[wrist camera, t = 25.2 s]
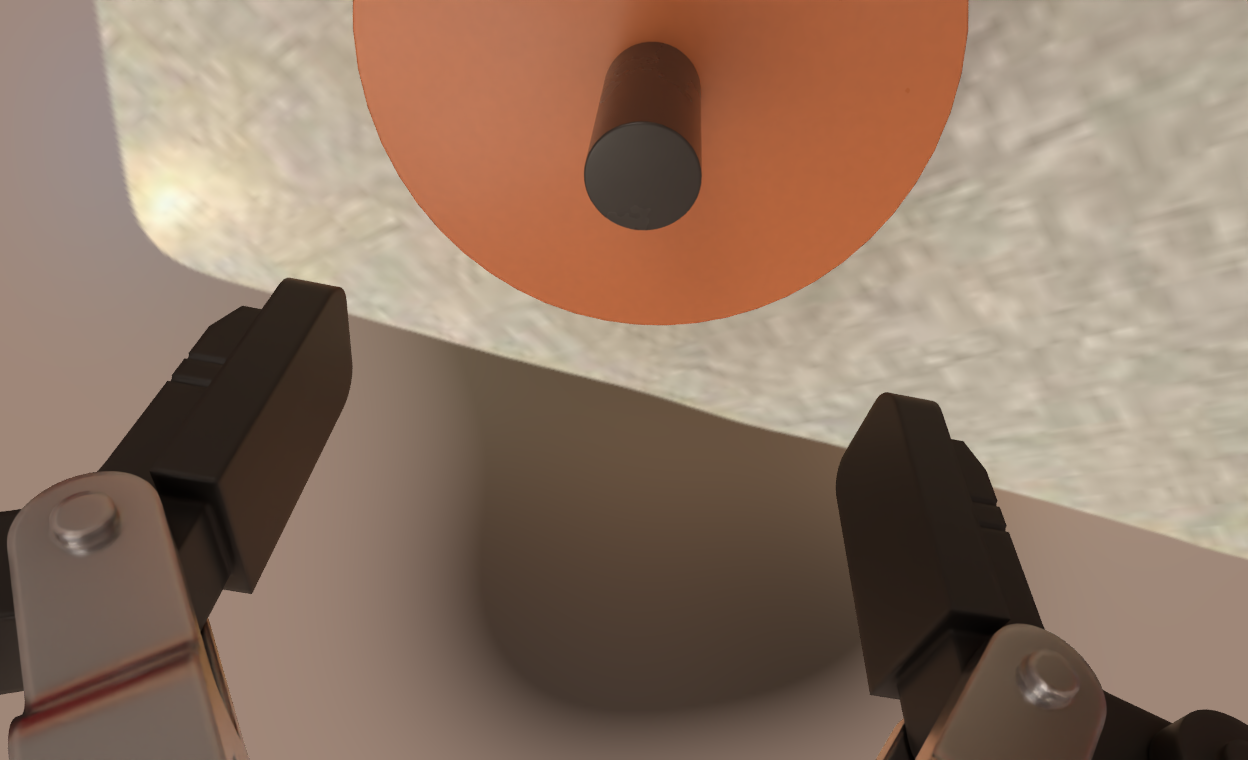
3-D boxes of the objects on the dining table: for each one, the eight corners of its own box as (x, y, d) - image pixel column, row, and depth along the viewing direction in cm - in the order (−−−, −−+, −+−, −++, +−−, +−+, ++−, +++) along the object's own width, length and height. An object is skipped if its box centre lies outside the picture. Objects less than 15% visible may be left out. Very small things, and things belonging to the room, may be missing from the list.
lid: (343, -403, 15) (192, -447, 10) (1093, -217, 16) (1248, -184, 12) (378, 258, 26) (312, 377, 21) (826, 342, 27) (852, 472, 22)
